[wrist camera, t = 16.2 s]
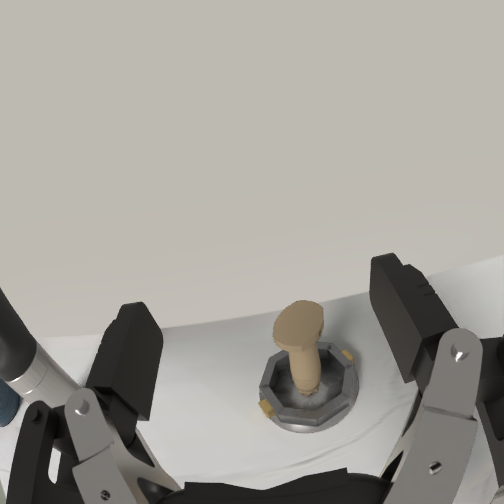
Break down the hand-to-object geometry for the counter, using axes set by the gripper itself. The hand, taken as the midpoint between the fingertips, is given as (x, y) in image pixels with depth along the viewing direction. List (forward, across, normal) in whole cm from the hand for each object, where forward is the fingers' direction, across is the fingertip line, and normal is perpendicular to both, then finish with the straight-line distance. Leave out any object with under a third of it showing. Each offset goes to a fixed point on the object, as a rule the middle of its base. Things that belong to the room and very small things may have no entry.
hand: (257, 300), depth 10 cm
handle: (+13, -2, +32) cm, 34 cm away
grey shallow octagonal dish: (+13, -2, +32) cm, 35 cm away
